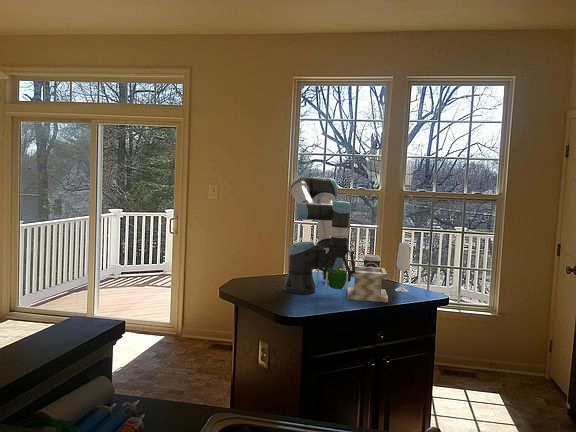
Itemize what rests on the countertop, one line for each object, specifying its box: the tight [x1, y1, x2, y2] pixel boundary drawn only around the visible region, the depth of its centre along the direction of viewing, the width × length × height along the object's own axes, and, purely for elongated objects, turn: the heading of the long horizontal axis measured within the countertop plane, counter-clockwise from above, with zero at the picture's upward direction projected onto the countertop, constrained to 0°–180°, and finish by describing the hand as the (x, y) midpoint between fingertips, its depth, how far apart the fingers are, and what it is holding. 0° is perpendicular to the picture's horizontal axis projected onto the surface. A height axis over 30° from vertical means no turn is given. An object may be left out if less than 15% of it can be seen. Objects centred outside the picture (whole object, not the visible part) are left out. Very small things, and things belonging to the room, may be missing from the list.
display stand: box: [346, 265, 389, 303], centre depth 216 cm, size 18×18×12 cm
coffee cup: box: [362, 254, 382, 268], centre depth 246 cm, size 10×10×15 cm
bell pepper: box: [328, 265, 347, 290], centre depth 202 cm, size 8×8×10 cm
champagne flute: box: [394, 242, 411, 293], centre depth 232 cm, size 7×7×24 cm
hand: (336, 287), depth 202 cm, fingers closed on bell pepper, 8 cm apart
